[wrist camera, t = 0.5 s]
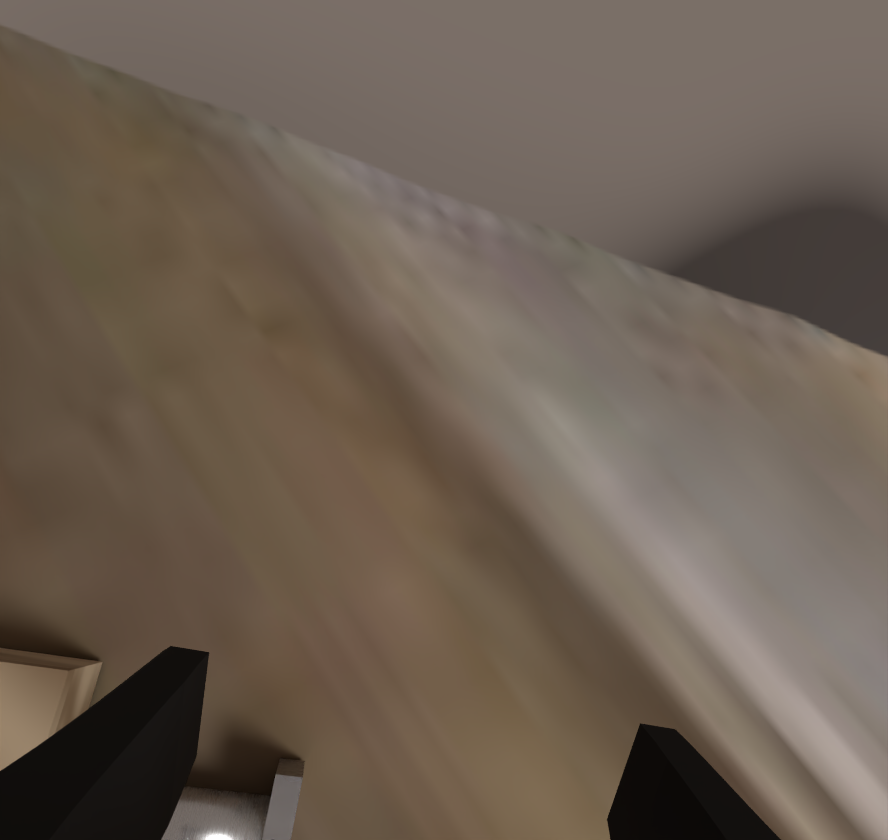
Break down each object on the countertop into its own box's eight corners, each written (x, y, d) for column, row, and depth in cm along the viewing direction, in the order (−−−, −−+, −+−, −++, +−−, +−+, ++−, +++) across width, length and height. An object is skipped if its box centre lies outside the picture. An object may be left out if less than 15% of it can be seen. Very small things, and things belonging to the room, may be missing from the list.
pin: (304, 760, 30) (302, 777, 27) (278, 894, 28) (273, 927, 25) (131, 740, 29) (111, 755, 26) (93, 877, 27) (67, 910, 24)
